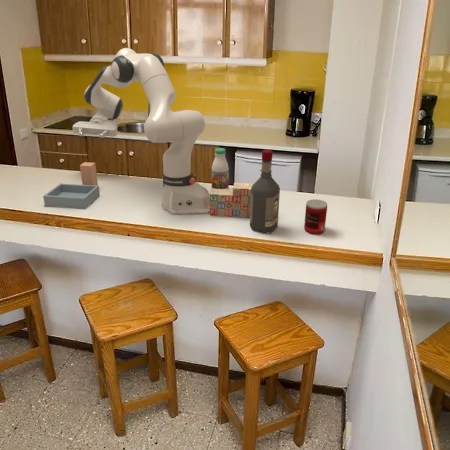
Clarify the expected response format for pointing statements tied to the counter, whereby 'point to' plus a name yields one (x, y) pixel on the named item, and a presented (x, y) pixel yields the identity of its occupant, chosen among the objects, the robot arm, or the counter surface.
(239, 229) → the counter surface
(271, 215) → the liquor
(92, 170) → the terracotta block
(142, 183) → the counter surface
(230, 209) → the stack of blocks
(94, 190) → the tray
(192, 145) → the robot arm
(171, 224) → the counter surface
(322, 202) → the canned food
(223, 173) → the milk bottle
